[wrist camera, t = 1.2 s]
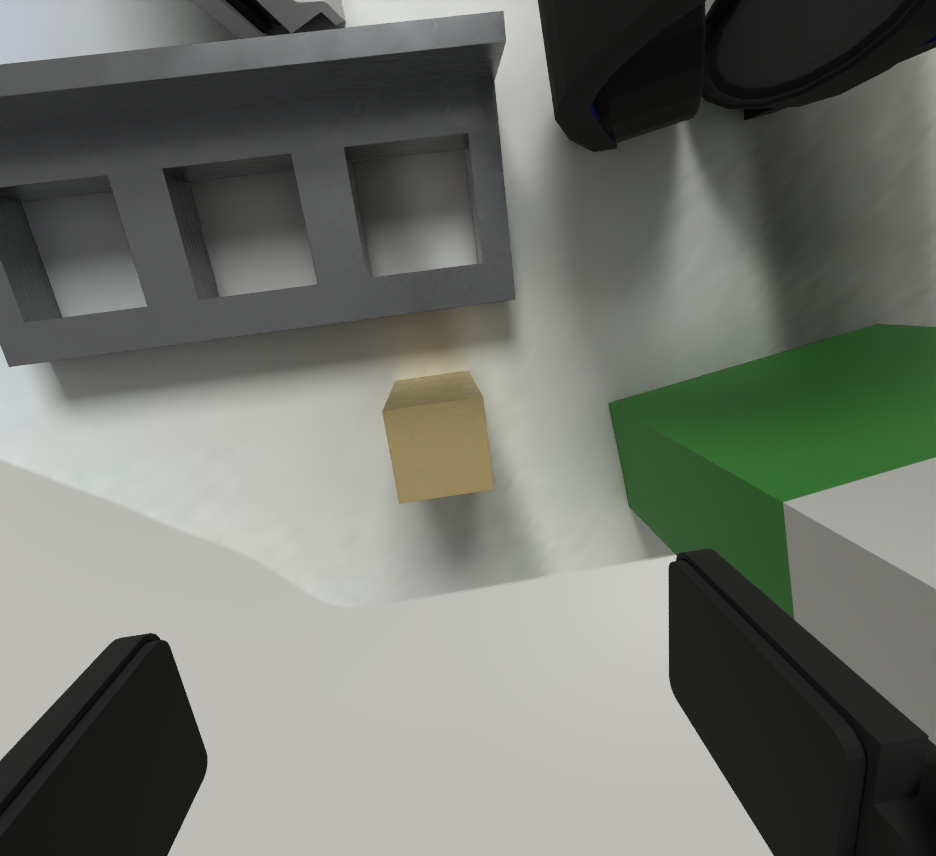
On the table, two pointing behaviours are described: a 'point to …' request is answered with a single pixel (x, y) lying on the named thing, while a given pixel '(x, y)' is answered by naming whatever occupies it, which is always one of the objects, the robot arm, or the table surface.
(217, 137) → the grey slotted rack
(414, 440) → the brass peg
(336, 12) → the white game console
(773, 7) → the headphones
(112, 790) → the robot arm
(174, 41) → the table surface
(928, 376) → the hardback book
